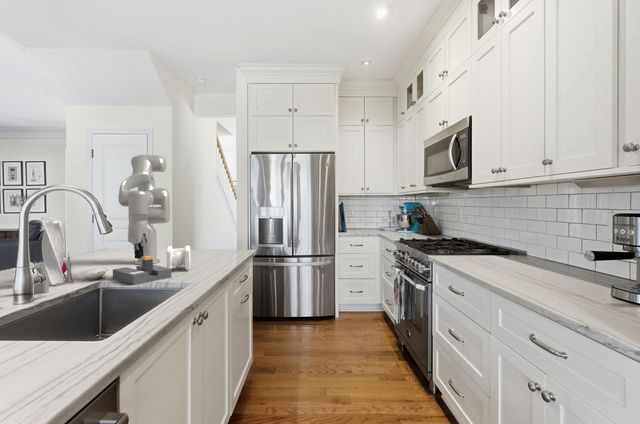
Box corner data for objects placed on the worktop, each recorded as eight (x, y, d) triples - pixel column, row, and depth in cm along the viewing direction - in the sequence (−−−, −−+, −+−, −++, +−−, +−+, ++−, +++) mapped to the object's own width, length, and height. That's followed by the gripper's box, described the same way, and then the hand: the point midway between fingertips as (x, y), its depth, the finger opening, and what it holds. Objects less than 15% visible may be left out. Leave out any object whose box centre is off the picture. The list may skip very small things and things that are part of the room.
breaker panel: (112, 278, 142) (112, 269, 141) (149, 272, 155) (149, 263, 154) (133, 284, 130) (133, 274, 130) (171, 277, 143) (171, 268, 143)
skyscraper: (51, 287, 127) (50, 217, 126) (37, 285, 129) (35, 217, 129) (73, 282, 135) (71, 216, 135) (58, 281, 137) (57, 216, 137)
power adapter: (32, 292, 119) (31, 260, 119) (49, 291, 121) (48, 259, 121) (27, 294, 116) (26, 262, 116) (45, 293, 118) (44, 261, 118)
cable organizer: (168, 267, 166) (168, 245, 165) (190, 266, 170) (190, 244, 169) (167, 273, 152) (166, 249, 152) (190, 271, 156) (190, 247, 156)
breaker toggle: (142, 274, 139) (141, 256, 139) (149, 273, 141) (149, 255, 141) (145, 275, 137) (145, 257, 137) (153, 274, 140) (152, 256, 139)
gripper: (121, 217, 146) (122, 257, 147) (137, 219, 137) (138, 261, 138) (139, 216, 152) (139, 254, 153) (154, 218, 143) (155, 258, 144)
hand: (139, 257), depth 145 cm, fingers closed
